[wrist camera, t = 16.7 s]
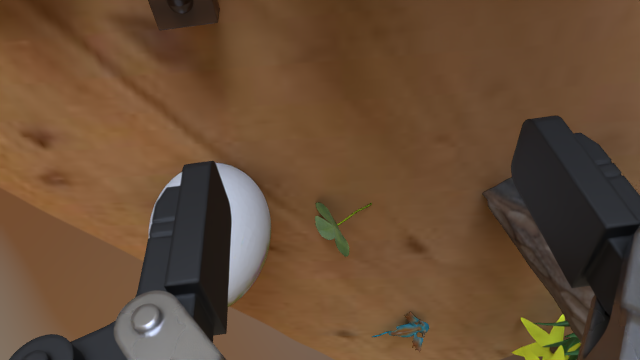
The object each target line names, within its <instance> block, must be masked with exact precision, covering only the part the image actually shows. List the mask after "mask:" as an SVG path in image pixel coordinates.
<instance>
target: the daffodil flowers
mask: <svg viewBox="0 0 640 360" xmlns="http://www.w3.org/2000/svg"><path fill="white" fill-rule="evenodd" d="M521 321H522V323H523V324H524V326H525V327H526V329H527V330H528V332H529V333H530V335H531V336H532V337H533V338H534V339H535V341H536V343H533V344H530V345H527V346H524V347H522V346H521V348H519V349H517V350H515V351H513V352H512V353H513V354H515V355H519V356H524V357H525V359H526V360H540V359H539V358H538V357H540V356H543V358H542V360H576V359H577V358H578V353H579V349H580V345H581V344H580V343H579V342H581V341H580V340H579V338H578V337H577V336H576V335H575V334H574V333H572V334H569V335H567V336H565V337H571V338H569V339H566V340H563V336H564V327H566V326H570V325H569V323H568V321H567V320H566V321H565V316H564V314H563V315H561V316H560V318H559V320H558V321H557V322H556V323H534V324H533V323H532V322H530V321H528V320H526V319H524V318H522V317H521ZM535 324H540V325H550V326H554V327H553V328H552V330H551V332H550V334H548V333H547V332H546V331H544V330H543V329H541V328H540V327H538V326H537V325H535ZM568 355H571V356H570V357H568Z"/></svg>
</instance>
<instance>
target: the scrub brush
mask: <svg viewBox="0 0 640 360" xmlns="http://www.w3.org/2000/svg"><path fill="white" fill-rule="evenodd" d="M148 1H149V4H150V7H151V9H152V12H153V15H154V17H155V20H156V23H157V26H158V28H159V30H167V29H174V28H182V27H189V26H197V25H204V24H212V23H218V19H219V11H220V8H219V4H218V1H217V0H148Z"/></svg>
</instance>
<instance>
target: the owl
mask: <svg viewBox="0 0 640 360" xmlns="http://www.w3.org/2000/svg"><path fill="white" fill-rule="evenodd" d="M482 195H484V197H485V198H486V199H487V201H488V207H489V209H490V210H491V212H492V213H493V215H494V216H495V217H496V219H497V220H498V221H499V223H500V224H501V225H502V227H503V228H504V230H505V231H506V232H507V234H508V235H509V237H510V238H511V240H512V241H513V243H514V244H515V245H516V247H517V248H518V250H519V251H520V253H521V254H522V256H523V257H524V259H525V260H526V262H527V263H528V265H529V266H530V268H531V269H532V270H533V271H534V273H535V274H536V275H537V277H538V278H539V279H540V281H541V282H542V283H543V285H544V286H545V287H546V289H547V290H548V291H549V293H550V294H551V295H552V297H553V298H554V300H555V301H556V303H557V304H558V306H559V308H560V309H561V311H562V313H563V314H564V316H565V318H566V319H567V321H568V323H569V325H570V327H571V329H572V331H573V332H574V334H575V335H576V336H577V337H578V338H579V340H580V341H582V337H583V333H584V329H585V325H586V321H587V316H588V312H589V308H590V304H591V301H592V298H593V297H594V295H595V294H594V292H593V290H592V288H591V287H590V286H585V287H577V288H571V286H570V285H569V283H568V281H567V279H566V277H565V275H564V274H563V272H562V270H561V268H560V266H559V265H558V263H557V261H556V259H555V257H554V256H553V254H552V252H551V250H550V248H549V246H548V245H547V243H546V241H545V239H544V237H543V236H542V234H541V232H540V230H539V228H538V226H537V225H536V223H535V221H534V219H533V217H532V216H531V214H530V212H529V210H528V208H527V206H526V205H525V203H524V201H523V199H522V197H521V196H520V194H519V192H518V190H517V188H516V186H515V184H514V182H513V179H512V178H509V179H507V180H505V181H503V182H502V183H500V184H499V185H497V186H496V187H493V188H491V189H489V190H487V191H485V192H484V193H482Z"/></svg>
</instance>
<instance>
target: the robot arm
mask: <svg viewBox="0 0 640 360" xmlns="http://www.w3.org/2000/svg"><path fill="white" fill-rule="evenodd" d="M511 173H512V179H513V182H514V184H515V186H516V188H517V190H518V192H519V194H520V196H521V197H522V199H523V201H524V203H525V205H526V206H527V208H528V210H529V212H530V214H531V216H532V217H533V219H534V221H535V223H536V225H537V226H538V228H539V230H540V232H541V234H542V236H543V237H544V239H545V241H546V243H547V245H548V246H549V248H550V250H551V252H552V254H553V256H554V257H555V259H556V261H557V263H558V265H559V266H560V268H561V270H562V272H563V274H564V275H565V277H566V279H567V281H568V283H569V285H570V286H571V288H577V287H585V286H590V287H591V288H592V290H593V292H594V294H595V295H594V297H593V298H592V301H591V304H590V308H589V312H588V316H587V321H586V325H585V329H584V333H583V337H582V341H581V345H580V349H579V353H578V358H577V360H640V195H639V194H638V193H637V192H636V190H635V189H634V188H633V187H632V185H631V184H630V183H629V182H628V180H627V179H626V178H625V177H624V176H622V175H621V172H620V170H619V169H618V168H617V167H616V165H615V164H614V163H611V159H610V158H609V157H608V155H607V154H606V153H605V152H604V150H603V149H602V148H601V146H600V145H599V144H597V143H596V142H594V141H593V140H591V139H589V138H588V137H586V136H585V135H583V134H582V133H574V134H573V132H572V131H571V130H570V129H569V127H568V126H567V125H566V123H565V122H564V121H563V119H562V118H561V117H559V116H549V117H542V118H534V119H528V120H526V121H525V122H524V123H523V125H522V128H521V132H520V135H519V139H518V142H517V146H516V149H515V153H514V156H513V160H512V164H511ZM231 227H232V216H231V208H230V203H229V199H228V196H227V194H226V191H225V188H224V185H223V182H222V179H221V177H220V174H219V171H218V168H217V165H216V163H215V162H214V161H208V162H201V163H193V164H186V165H184V167H183V170H182V177H181V183H180V186H173V187H167V188H166V189H165V191H164V192H163V194H162V195H161V196H160V198H159V199H158V201H157V202H156V204H155V209H154V214H153V219H152V224H151V228H150V233H149V236H150V238H149V239H148V243H147V248H146V253H145V257H144V262H143V267H142V272H141V277H140V282H139V287H138V291H137V295H136V297H135V298H134V299H132V300H131V301H130V302H129V303H128V304H127V305H126V306H125V307H124V308H123V309H122V310H121V312H120V313H119V315H118V317H117V319H116V321H114V322H112V323H111V324H110V325H107V326H105V327H104V328H101V329H99V330H97V331H94V332H92V333H90V334H87V335H85V336H83V337H81V338H78V339H76V340H74V341H72V342H69V341H68V340H67V339H66V338H64V337H63V336H60V335H53V334H50V335H45V336H41V337H38V338H35V339H33V340H31V341H29V342H28V343H26V344H25V345H23V346H22V347H21V348H20V349H18V350H17V351H16V352H15V353H14V354H13V356H12V357H11V358H10V359H9V360H226V359H225V358H224V356H223V355H222V354H221V353H220V352H219V350H218V349H217V348H216V347H215V345H214V344H213V335H220V334H226V329H227V310H228V289H229V268H230V247H231Z"/></svg>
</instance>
